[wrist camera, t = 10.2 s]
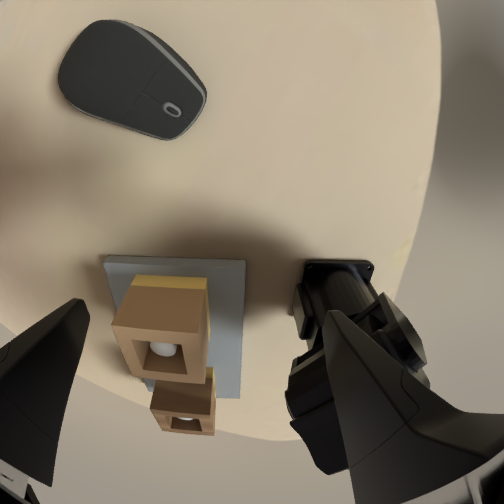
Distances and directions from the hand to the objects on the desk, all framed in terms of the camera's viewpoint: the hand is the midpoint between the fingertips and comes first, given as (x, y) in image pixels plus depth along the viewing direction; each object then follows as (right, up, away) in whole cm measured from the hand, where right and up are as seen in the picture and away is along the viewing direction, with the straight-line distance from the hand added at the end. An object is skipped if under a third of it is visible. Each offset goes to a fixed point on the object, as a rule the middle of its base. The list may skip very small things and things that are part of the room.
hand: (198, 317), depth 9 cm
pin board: (-5, -7, +18) cm, 20 cm away
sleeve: (-5, -13, +20) cm, 24 cm away
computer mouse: (-7, +15, +6) cm, 17 cm away
